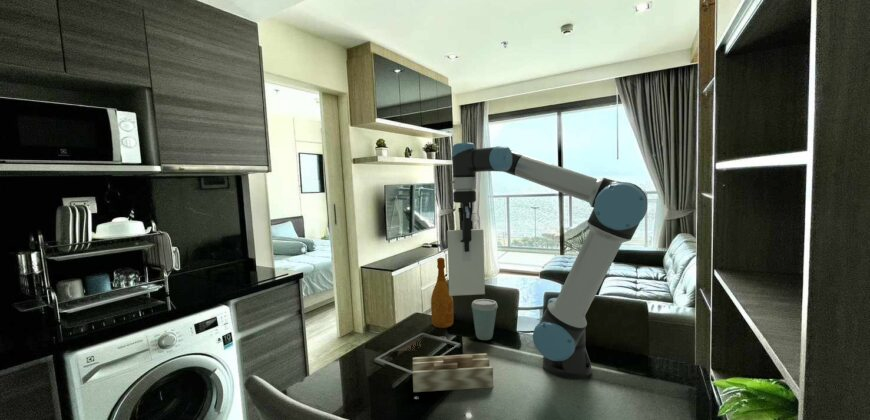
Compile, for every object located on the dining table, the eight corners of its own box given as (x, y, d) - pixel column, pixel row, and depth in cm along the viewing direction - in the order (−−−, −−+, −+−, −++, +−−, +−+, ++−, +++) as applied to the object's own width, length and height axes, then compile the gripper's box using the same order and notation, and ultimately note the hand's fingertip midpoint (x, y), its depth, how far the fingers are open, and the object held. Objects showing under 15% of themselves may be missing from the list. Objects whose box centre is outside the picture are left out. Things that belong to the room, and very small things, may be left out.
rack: (487, 374, 117) (486, 353, 116) (493, 390, 108) (492, 367, 107) (413, 378, 116) (412, 357, 115) (413, 395, 106) (412, 372, 106)
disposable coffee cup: (469, 332, 150) (468, 297, 149) (494, 330, 151) (493, 295, 150) (475, 343, 139) (474, 306, 138) (501, 341, 140) (501, 304, 139)
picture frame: (373, 358, 127) (426, 330, 151) (374, 363, 128) (426, 333, 151) (414, 375, 116) (464, 340, 140) (415, 379, 116) (464, 345, 140)
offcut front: (457, 384, 110) (456, 361, 109) (458, 386, 108) (457, 364, 108) (434, 385, 110) (434, 363, 109) (434, 388, 108) (434, 365, 107)
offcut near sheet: (472, 379, 112) (471, 354, 112) (473, 382, 111) (472, 357, 110) (443, 381, 112) (443, 356, 111) (444, 384, 110) (443, 358, 110)
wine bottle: (446, 330, 152) (444, 261, 150) (427, 326, 158) (425, 259, 155) (457, 322, 161) (456, 256, 158) (439, 318, 166) (437, 254, 164)
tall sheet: (483, 292, 123) (482, 229, 121) (484, 294, 121) (483, 229, 120) (449, 294, 122) (447, 230, 121) (449, 295, 121) (447, 231, 119)
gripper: (450, 190, 126) (452, 256, 128) (455, 191, 112) (457, 265, 113) (472, 189, 127) (473, 255, 129) (479, 190, 112) (481, 264, 114)
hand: (466, 260), depth 121 cm, fingers closed on tall sheet, 2 cm apart
